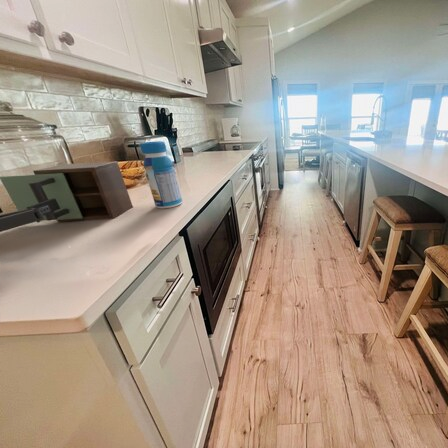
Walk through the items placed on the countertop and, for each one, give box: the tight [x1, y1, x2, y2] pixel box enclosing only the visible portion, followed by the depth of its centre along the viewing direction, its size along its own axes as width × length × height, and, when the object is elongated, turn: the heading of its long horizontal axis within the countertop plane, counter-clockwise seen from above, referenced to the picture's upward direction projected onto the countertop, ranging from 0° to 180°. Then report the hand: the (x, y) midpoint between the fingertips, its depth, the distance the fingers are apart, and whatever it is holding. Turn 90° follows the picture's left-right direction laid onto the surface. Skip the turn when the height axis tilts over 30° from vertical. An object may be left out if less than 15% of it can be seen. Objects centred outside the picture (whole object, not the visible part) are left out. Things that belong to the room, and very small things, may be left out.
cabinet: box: [32, 161, 134, 223], centre depth 72 cm, size 16×10×15 cm, turn 93°
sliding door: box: [0, 173, 83, 222], centre depth 64 cm, size 16×7×13 cm, turn 93°
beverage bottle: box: [139, 140, 183, 209], centre depth 76 cm, size 8×8×20 cm
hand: (27, 205), depth 59 cm, fingers open, 13 cm apart
